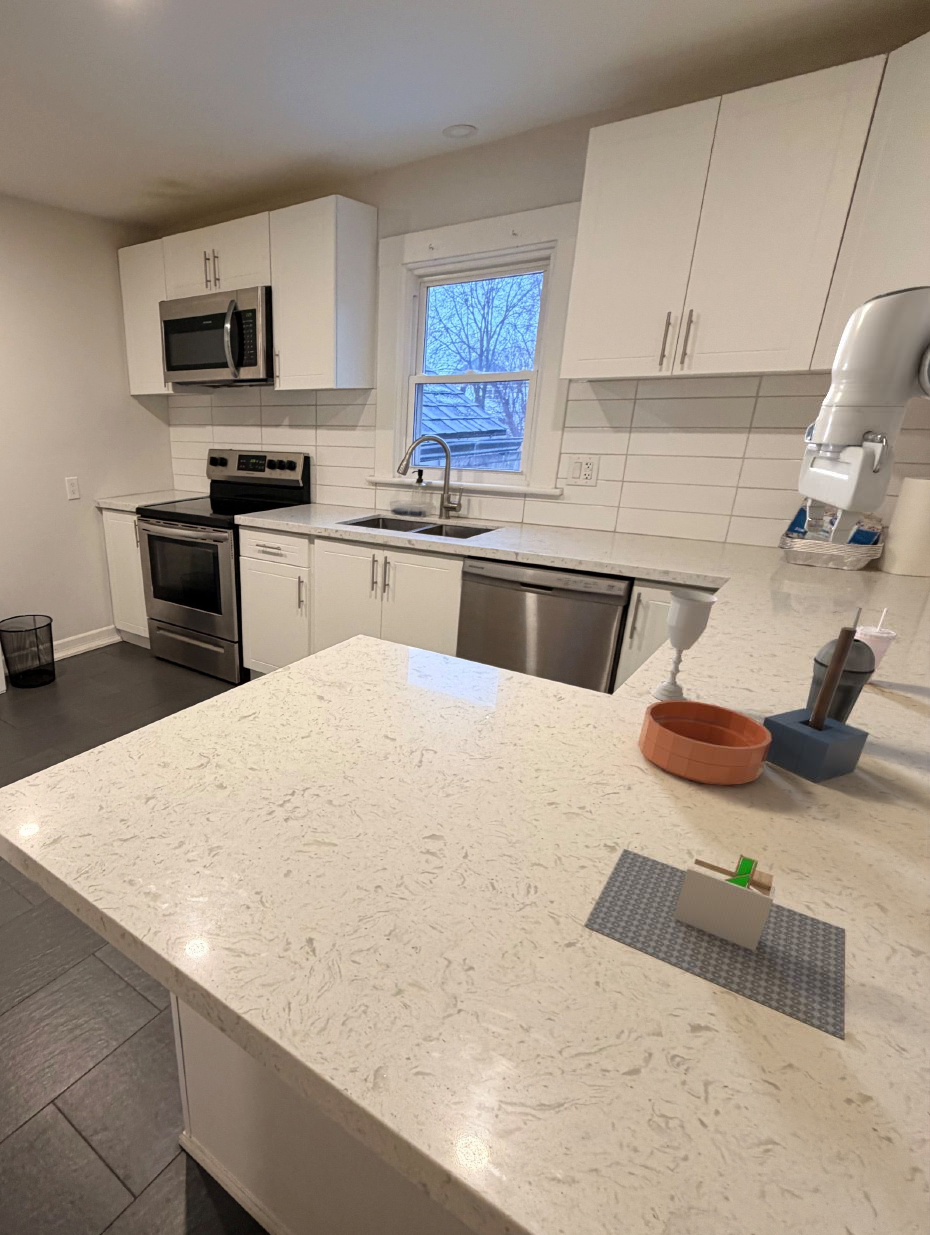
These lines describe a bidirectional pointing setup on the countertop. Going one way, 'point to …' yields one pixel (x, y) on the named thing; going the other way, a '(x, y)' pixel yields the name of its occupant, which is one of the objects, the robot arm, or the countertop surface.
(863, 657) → the beverage cup
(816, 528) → the robot arm
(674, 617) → the chalice
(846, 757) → the holder
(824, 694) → the stick
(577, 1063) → the countertop surface
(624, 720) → the countertop surface
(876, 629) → the smoothie
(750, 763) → the bowl
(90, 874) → the countertop surface
